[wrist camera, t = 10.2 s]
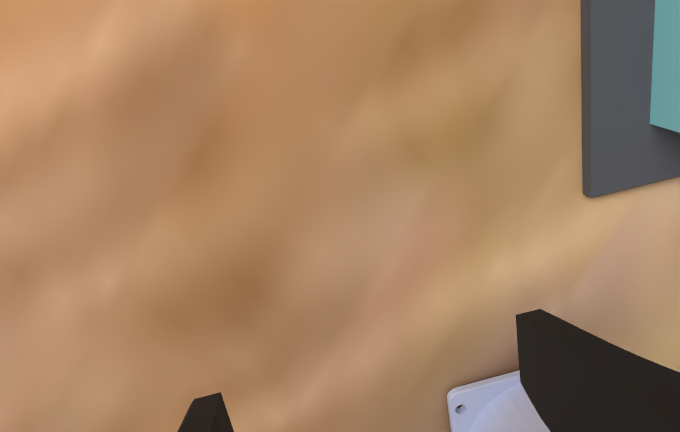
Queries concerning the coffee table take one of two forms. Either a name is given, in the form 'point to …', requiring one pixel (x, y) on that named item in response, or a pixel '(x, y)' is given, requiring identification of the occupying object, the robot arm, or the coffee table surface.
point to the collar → (666, 66)
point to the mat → (621, 100)
